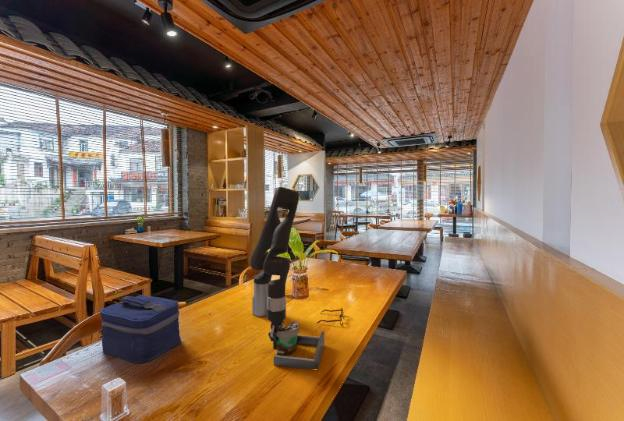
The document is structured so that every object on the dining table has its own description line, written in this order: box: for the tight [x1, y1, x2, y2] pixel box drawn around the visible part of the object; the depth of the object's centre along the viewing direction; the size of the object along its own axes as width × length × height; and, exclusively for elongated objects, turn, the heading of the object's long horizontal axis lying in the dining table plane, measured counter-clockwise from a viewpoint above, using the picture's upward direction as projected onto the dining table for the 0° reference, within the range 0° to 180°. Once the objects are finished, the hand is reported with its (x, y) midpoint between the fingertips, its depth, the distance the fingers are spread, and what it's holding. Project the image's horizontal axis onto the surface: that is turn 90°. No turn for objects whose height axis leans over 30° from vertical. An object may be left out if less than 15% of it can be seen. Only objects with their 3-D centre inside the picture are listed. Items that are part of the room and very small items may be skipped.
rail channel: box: [273, 331, 325, 370], centre depth 111 cm, size 17×17×6 cm
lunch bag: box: [99, 294, 182, 364], centre depth 116 cm, size 31×21×20 cm
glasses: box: [316, 307, 344, 325], centre depth 142 cm, size 13×13×5 cm
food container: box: [276, 319, 300, 356], centre depth 113 cm, size 12×6×10 cm, turn 149°
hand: (276, 348), depth 112 cm, fingers closed
